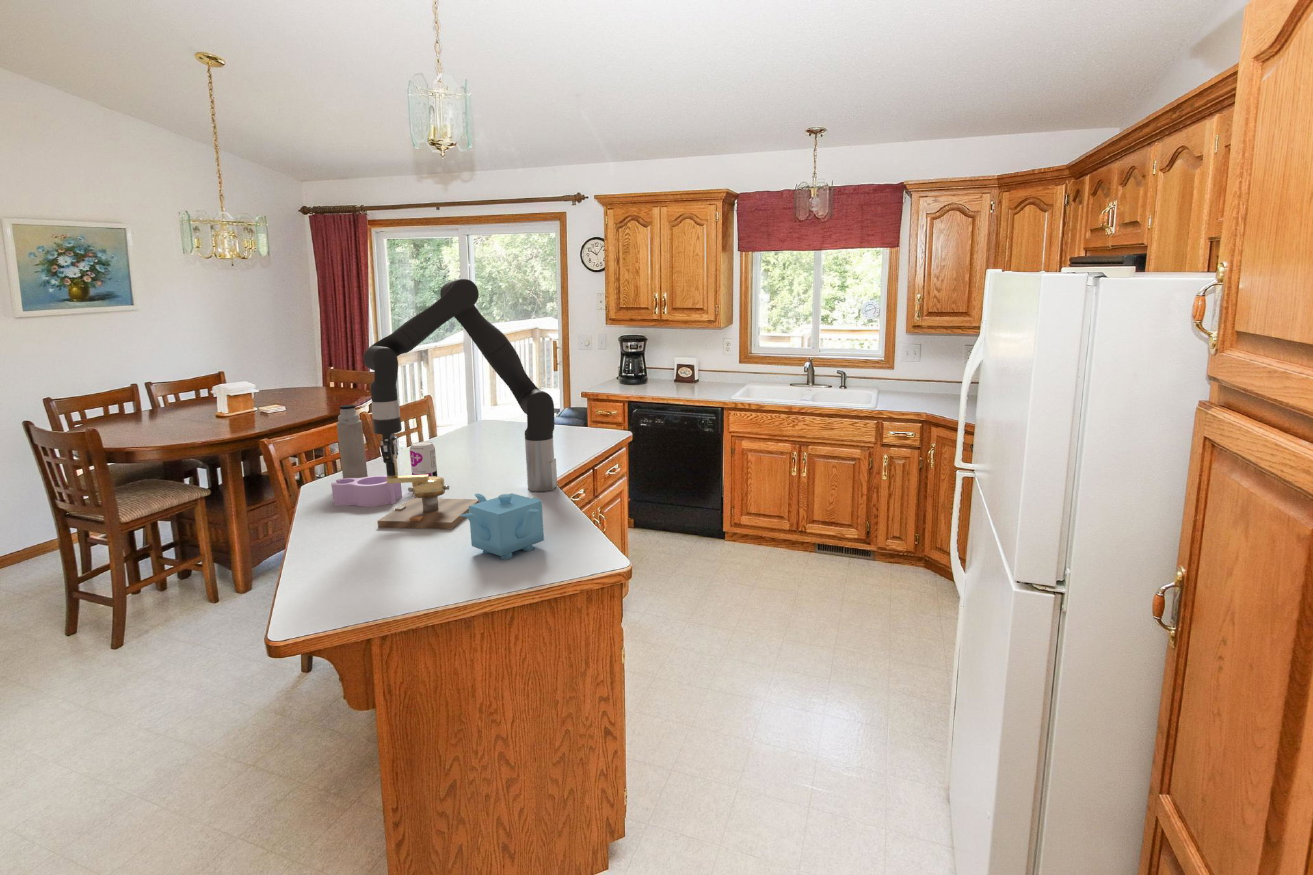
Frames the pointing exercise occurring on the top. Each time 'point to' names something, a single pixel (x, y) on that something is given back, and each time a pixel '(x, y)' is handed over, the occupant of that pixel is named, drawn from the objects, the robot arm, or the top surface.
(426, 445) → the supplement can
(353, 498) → the lavender double cup holder
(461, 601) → the top surface
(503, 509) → the teakettle
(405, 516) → the walnut base
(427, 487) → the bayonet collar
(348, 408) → the thermos bottle
